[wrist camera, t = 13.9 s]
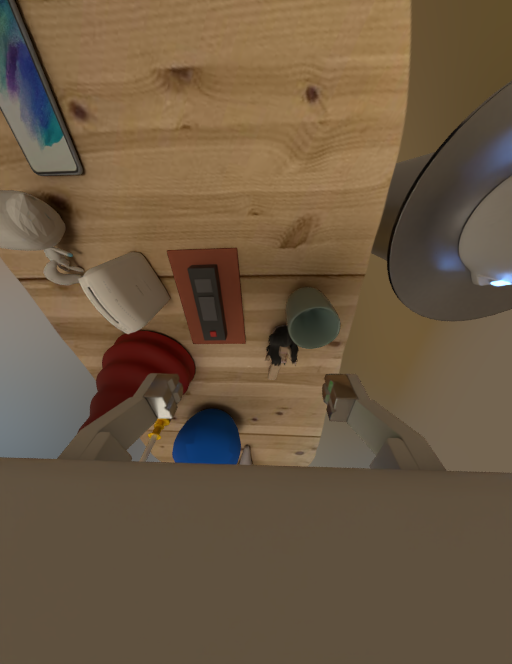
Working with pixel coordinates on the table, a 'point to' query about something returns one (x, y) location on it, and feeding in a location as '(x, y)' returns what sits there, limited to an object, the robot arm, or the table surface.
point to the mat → (228, 285)
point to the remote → (208, 301)
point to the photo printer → (125, 291)
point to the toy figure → (280, 350)
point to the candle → (154, 437)
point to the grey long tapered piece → (246, 457)
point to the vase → (208, 439)
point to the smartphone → (31, 101)
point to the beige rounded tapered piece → (35, 232)
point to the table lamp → (137, 368)
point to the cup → (311, 318)
